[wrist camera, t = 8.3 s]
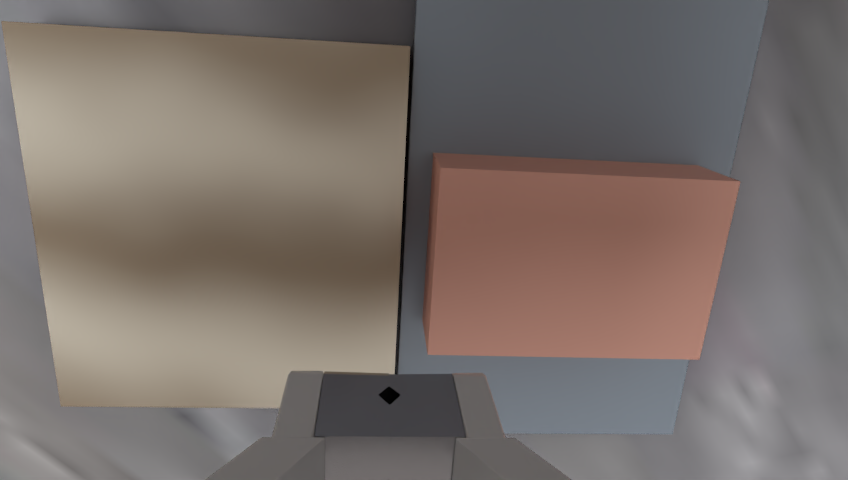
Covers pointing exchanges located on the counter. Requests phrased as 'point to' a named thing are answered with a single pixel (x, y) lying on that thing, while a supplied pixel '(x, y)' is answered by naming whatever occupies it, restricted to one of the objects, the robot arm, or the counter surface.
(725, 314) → the counter surface
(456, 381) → the robot arm
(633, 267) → the coral tile
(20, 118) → the plate
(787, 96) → the counter surface
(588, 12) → the slate mat
